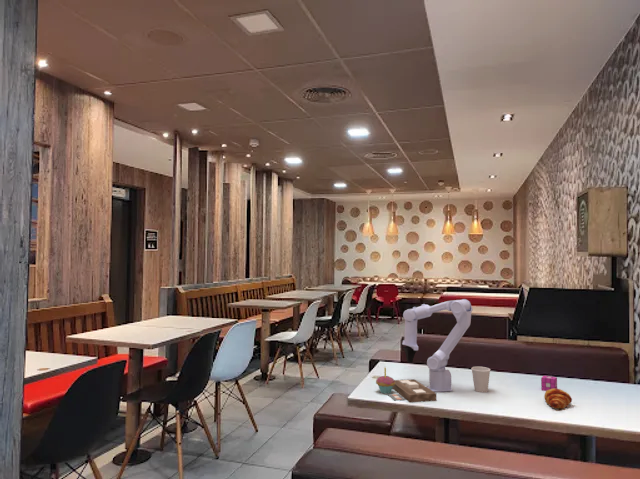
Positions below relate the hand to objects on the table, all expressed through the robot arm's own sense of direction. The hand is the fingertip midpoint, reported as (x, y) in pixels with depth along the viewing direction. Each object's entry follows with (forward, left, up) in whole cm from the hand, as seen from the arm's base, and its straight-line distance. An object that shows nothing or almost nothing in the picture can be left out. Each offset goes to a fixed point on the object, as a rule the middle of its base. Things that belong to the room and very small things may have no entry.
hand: (409, 362), depth 220 cm
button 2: (+5, +23, -10) cm, 25 cm away
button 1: (+5, +7, -10) cm, 13 cm away
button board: (+5, +15, -10) cm, 19 cm away
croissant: (-49, +39, -11) cm, 64 cm away
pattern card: (+14, +20, -10) cm, 26 cm away
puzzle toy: (-60, +20, -11) cm, 64 cm away
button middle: (+5, +15, -9) cm, 18 cm away
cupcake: (+16, +11, -11) cm, 22 cm away
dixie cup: (-28, +16, -11) cm, 34 cm away
